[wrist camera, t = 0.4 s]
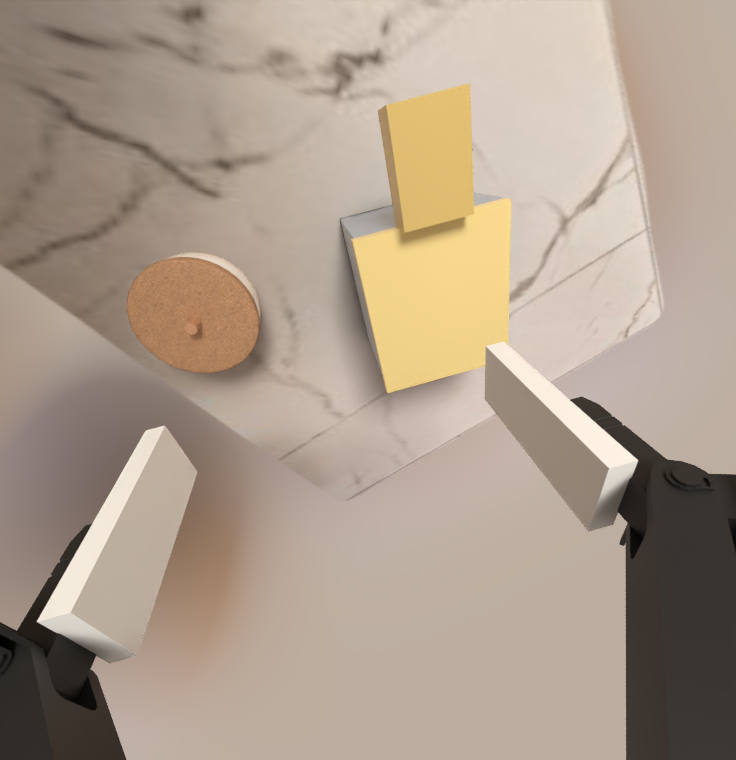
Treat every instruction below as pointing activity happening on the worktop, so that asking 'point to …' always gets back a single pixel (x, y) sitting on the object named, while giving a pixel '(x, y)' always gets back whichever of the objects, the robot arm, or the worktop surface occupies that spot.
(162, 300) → the lidded jar
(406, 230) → the lid
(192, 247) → the worktop surface
